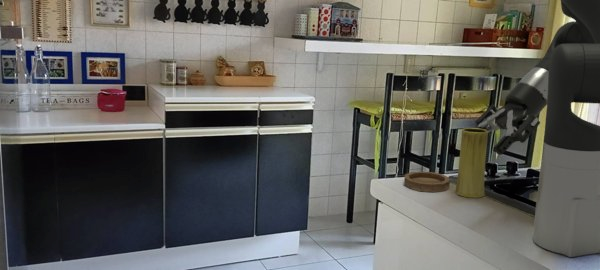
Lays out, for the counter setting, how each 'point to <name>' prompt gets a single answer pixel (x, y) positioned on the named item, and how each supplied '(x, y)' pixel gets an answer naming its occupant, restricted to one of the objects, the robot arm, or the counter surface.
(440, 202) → the counter surface
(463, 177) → the vase
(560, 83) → the robot arm
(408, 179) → the round tray
